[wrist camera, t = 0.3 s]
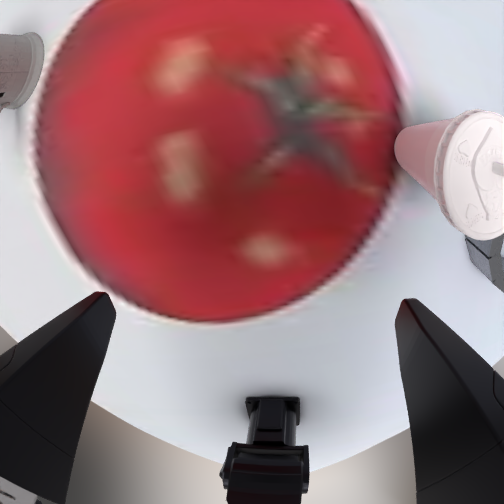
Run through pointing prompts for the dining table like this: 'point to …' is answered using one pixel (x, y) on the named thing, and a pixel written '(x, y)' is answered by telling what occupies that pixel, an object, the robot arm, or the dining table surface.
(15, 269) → the dining table surface
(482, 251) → the stone ring
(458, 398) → the robot arm
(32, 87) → the grey mug
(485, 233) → the smoothie
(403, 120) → the dining table surface
